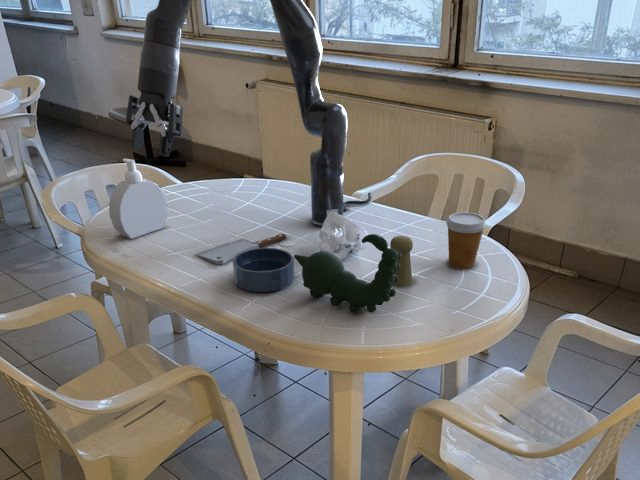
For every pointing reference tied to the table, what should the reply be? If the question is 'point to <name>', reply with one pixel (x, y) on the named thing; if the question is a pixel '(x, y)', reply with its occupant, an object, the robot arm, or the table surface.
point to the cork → (403, 259)
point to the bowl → (263, 269)
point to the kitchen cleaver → (236, 249)
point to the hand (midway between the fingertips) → (150, 152)
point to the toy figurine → (351, 277)
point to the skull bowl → (340, 235)
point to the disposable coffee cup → (464, 238)
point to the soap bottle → (137, 205)
